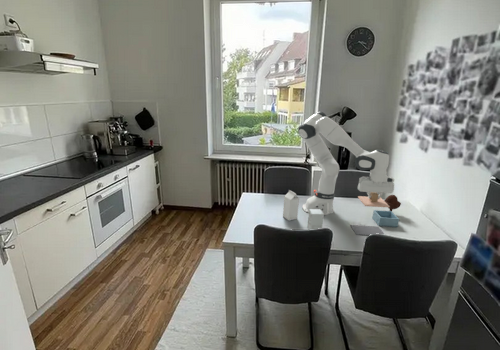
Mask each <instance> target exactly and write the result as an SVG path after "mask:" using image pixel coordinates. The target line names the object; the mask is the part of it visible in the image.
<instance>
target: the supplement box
mask: <svg viewBox="0 0 500 350" xmlns="http://www.w3.org/2000/svg"><path fill="white" fill-rule="evenodd" d="M324 216H325V215H324V214H323V213H322V211H321V210H320V209H309V213H308V217H307V219H308V220H307V229H308V230H309V229H318V228H322V229H323V222H324Z"/></svg>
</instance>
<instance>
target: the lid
mask: <svg viewBox="0 0 500 350" xmlns="http://www.w3.org/2000/svg"><path fill="white" fill-rule="evenodd" d="M370 195H371V196H372V197H371V199H368V196H364V195H363V196H362V195H358V196H357V198H358V199H359V200H360V202H361V203H362V205H363V206H364V207H371V208H372V207H375V208H388V209H389V207H390V206H389V205H388V204H387V203H386V202H385V201H384V200H385V199H383V198H382V196H381V197H380V199H378V195H379V193H377V192H371V193H370Z"/></svg>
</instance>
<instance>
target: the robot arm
mask: <svg viewBox="0 0 500 350" xmlns="http://www.w3.org/2000/svg"><path fill="white" fill-rule="evenodd" d="M297 131H298V135H299V136H300V137H301V138H303V141H304V143H305V145H306V146H307V148H308V151H310V153H311V154H312V156H313V158H314V159H315V160H316V162H317V163H318V165H319V167H320V168H321V175H320V177H319V178H320V179H319V180H318V188H317V189H314V190H313V193H314V195H313V196H310V197H308V198H307V200H306V201H305V202H306V203H303V204H302V210H303V211H304V212H305V213H308V214H309V209H320V210H321V211H322V213H323V214H324V216H329V214H333V213H334V211H335V210H334V199H335V188H336V183H337V179H338V175H339V173H340V165H339V163H338V162H337V160H336V159H335V157H334V156H333V155H332V153H331V151H330V149H329V147H328V146H327V144H326V142H325V141H324V139H326V140H327V141H328V142H329V143H331V144H332V145H334V146H340V147H344V148H346V149H347V150H348V151H349V152H350V153H352V155H354V156H355V160H354V166H355V167H356V168H357V169H358V170H360V171H370V172H369V176H365V175H364V176H361V177H359V179H358V185H357V190H358V191H359V192H365V193H366V194H367V197H368V199H371V197H372V196H371V195H370V193H371V192H376V193H378V194H379V195H378V199H380V197H381V198H382V196H383V194H393V193H394V190H395V183H394V182H395V178H393V176H390V175H389V174H388V172H387V169H388V167H389V163H390V154H389V152H388V151H386V150H384V149H375V150H373V151H371V150H368V149H365V148H363V147H362V146H360V144H359V143H358V142H356V141H355V140H354V139H353V138H351V137H350V135H349V134H348V133H347V132H346V131H345V130H344V129H343V127H342V126H341V125H339V124H338V122H336V121H335V120H333V119H332V118H330V117H329V116H327V115H326V113H324V112H322V111H317V112H315V113H313V114H312V115H311V116H309V117H308V118H307V119H305V120H304V122H302V123H301V124H300V125H299V126H298V130H297ZM320 134H321V135H322V136H323V138H324V139H323V138H322V136H321V135H320Z"/></svg>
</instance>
